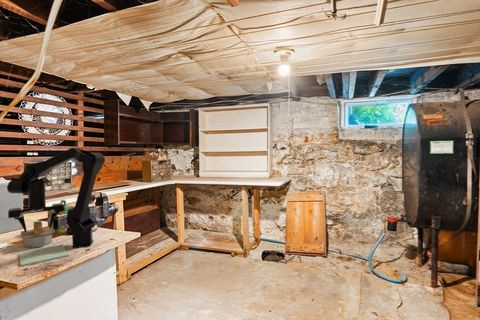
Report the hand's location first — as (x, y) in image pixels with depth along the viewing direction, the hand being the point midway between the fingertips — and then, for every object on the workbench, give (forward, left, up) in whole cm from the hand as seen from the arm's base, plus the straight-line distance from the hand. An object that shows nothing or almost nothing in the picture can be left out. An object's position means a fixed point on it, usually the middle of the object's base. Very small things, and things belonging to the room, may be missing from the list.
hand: (38, 230), depth 114 cm
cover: (0, 0, -1) cm, 1 cm away
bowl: (0, 0, -6) cm, 6 cm away
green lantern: (-3, -19, -6) cm, 20 cm away
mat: (-7, +14, -6) cm, 17 cm away
